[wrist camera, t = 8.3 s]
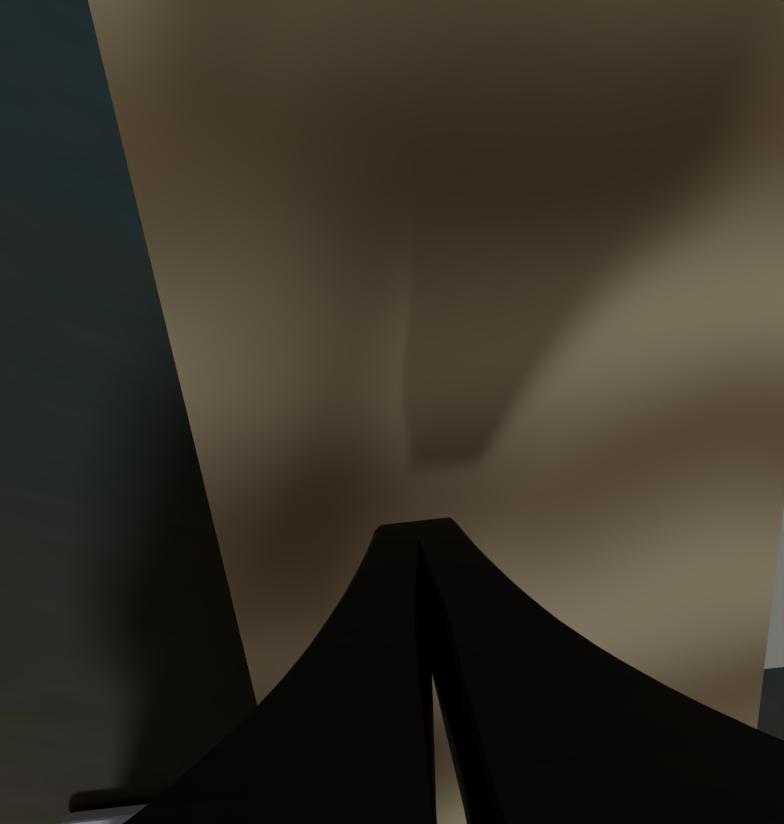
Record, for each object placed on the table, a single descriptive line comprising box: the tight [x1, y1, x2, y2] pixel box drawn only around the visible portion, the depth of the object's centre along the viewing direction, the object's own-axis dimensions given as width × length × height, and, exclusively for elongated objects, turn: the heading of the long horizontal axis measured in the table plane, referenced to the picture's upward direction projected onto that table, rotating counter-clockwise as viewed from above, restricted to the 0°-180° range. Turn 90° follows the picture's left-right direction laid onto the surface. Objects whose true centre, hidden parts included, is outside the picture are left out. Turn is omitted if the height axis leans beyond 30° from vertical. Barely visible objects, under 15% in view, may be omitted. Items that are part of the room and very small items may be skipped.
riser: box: [88, 0, 784, 824], centre depth 13 cm, size 20×12×4 cm, turn 6°
